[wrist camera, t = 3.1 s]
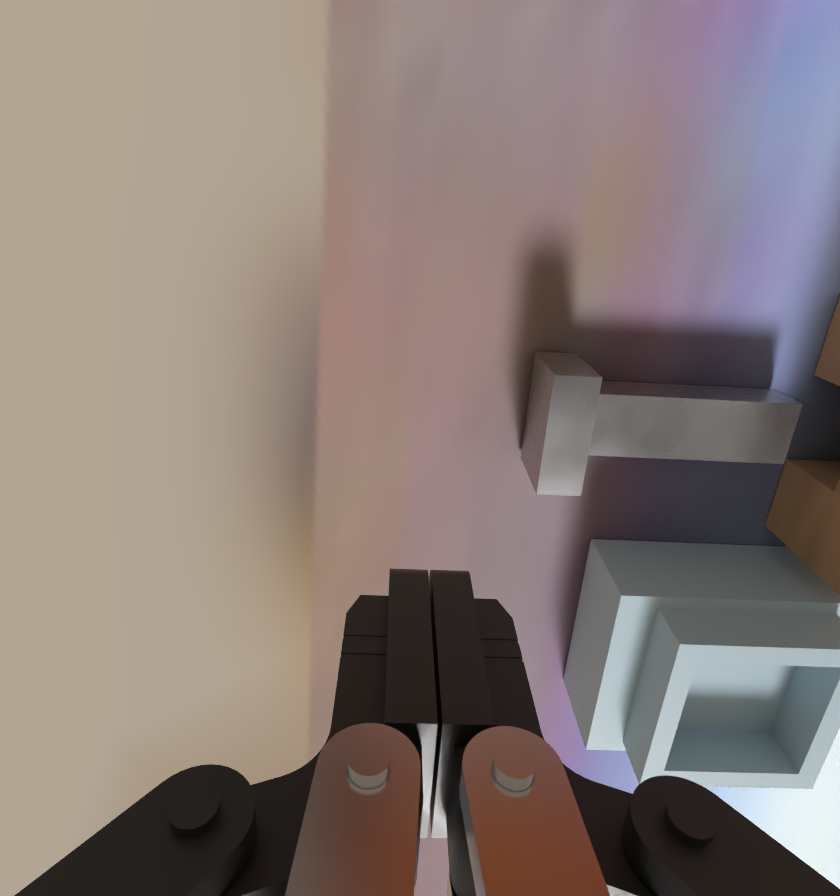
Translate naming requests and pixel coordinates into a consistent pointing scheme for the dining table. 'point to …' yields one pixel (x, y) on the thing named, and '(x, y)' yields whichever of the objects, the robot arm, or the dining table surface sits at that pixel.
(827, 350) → the socket block
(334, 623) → the dining table surface
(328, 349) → the dining table surface
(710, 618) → the block
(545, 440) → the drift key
